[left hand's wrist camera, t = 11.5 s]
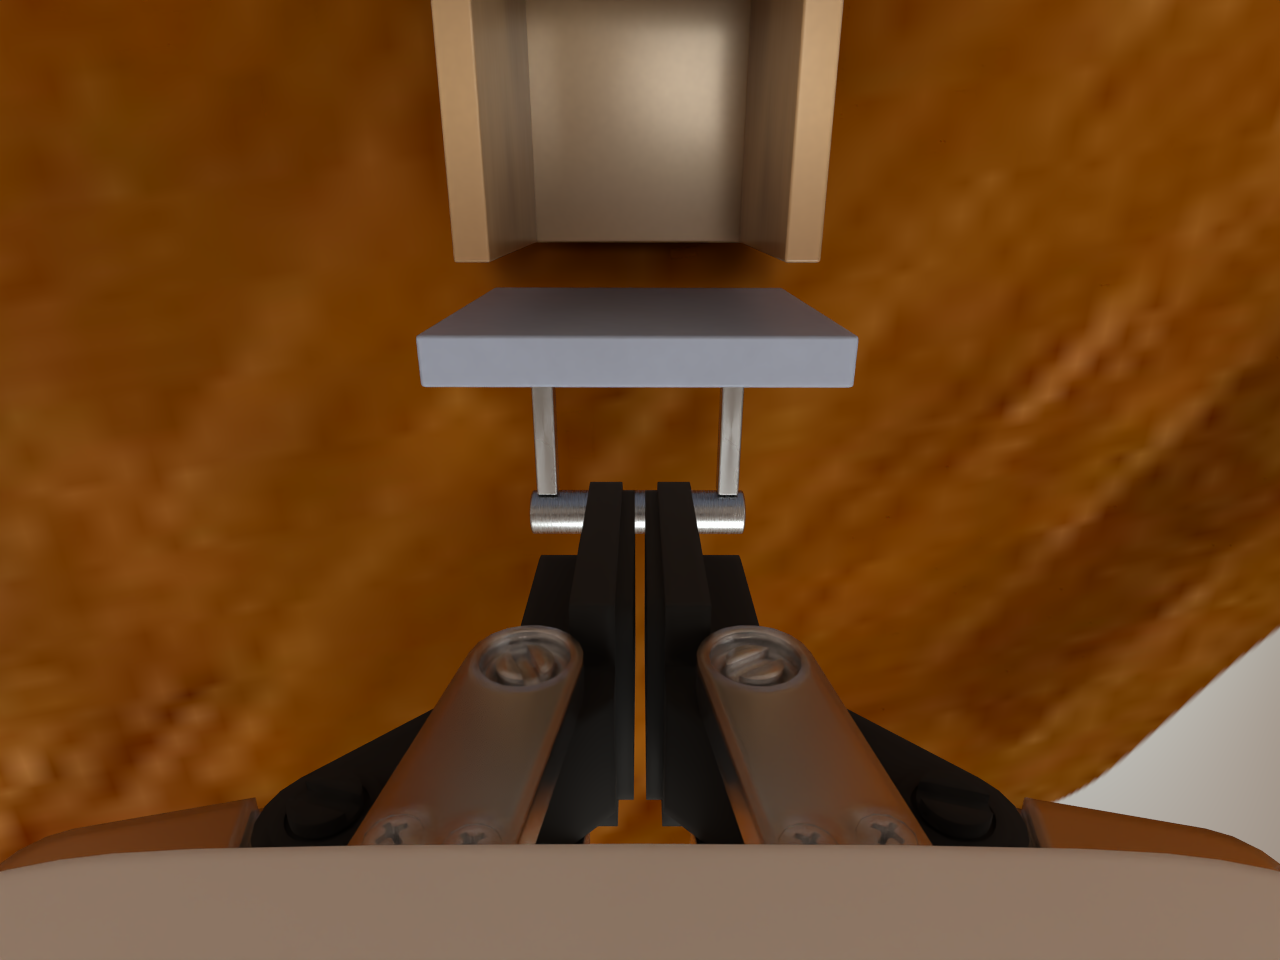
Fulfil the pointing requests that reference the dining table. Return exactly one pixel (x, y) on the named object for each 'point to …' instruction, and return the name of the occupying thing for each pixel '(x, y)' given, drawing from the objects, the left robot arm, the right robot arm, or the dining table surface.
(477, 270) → the dining table surface
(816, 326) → the drawer
